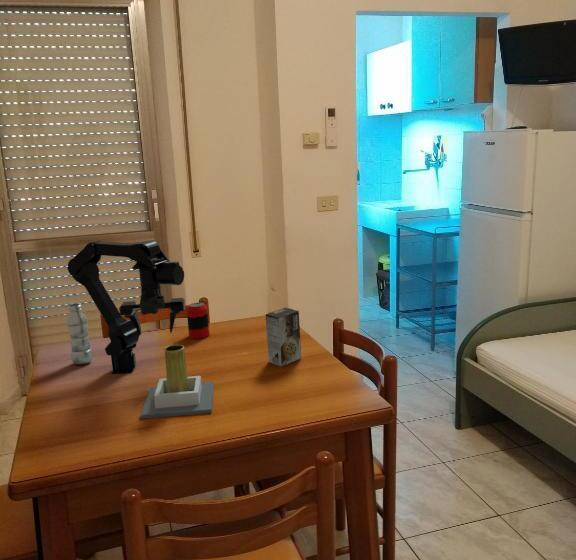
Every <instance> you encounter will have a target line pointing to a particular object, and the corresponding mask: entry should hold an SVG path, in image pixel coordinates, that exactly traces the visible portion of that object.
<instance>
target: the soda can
mask: <svg viewBox="0 0 576 560" xmlns="http://www.w3.org/2000/svg"><path fill="white" fill-rule="evenodd" d="M186 317H187V318H186V319H187V328H188V337H189V338H190V339H193V340H200V339H205V338H208V337H209V335H210V324H209V322H210V321H209V313H208V306H207V305H206V304H205V303H204V302H192V303H190V304H188V306H187V308H186Z"/></svg>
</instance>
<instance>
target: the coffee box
mask: <svg viewBox="0 0 576 560" xmlns="http://www.w3.org/2000/svg"><path fill="white" fill-rule="evenodd" d="M265 324H266V326H265V327H266V328H265V329H266V340H267V357H268V358H267V359H268V363H270V364H273V365H276V366H278V367H284V366H286V365H289V364H291V363H293V362H295V361H298V360H301V359H302V348H301V347H302V344H301V329H300V328H301V327H300V326H301V325H300V311H299V310H297V309H293V308H290V307H283V308H280V309H277V310H274V311H270V312H269V313H265Z"/></svg>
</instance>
